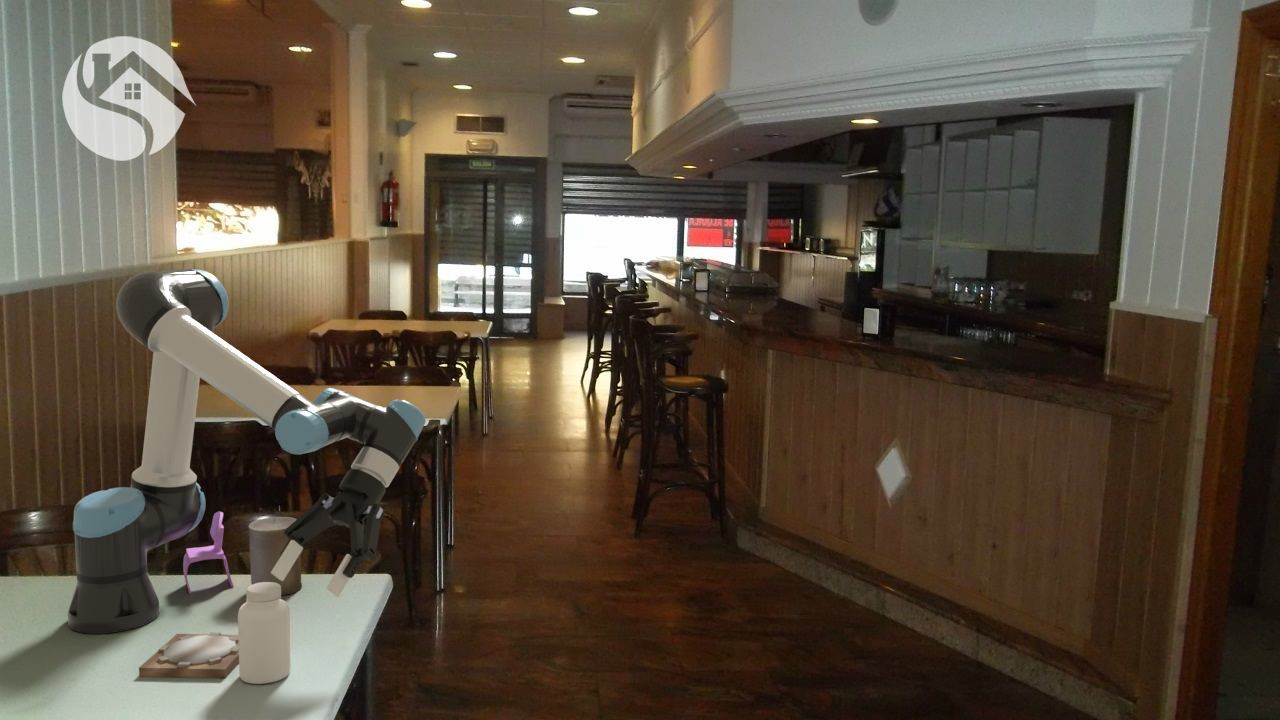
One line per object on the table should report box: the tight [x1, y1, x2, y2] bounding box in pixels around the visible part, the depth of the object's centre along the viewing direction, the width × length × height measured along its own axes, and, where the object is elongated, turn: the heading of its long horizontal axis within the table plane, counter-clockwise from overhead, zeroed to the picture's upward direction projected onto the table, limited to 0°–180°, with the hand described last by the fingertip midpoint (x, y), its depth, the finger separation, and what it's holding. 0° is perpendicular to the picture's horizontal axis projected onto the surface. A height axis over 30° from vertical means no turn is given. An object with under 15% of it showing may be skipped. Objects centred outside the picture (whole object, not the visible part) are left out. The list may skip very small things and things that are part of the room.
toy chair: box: [182, 511, 234, 595], centre depth 210 cm, size 8×9×15 cm
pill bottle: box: [237, 582, 292, 685], centre depth 170 cm, size 8×8×15 cm
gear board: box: [138, 632, 239, 679], centre depth 177 cm, size 14×14×2 cm
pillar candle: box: [248, 516, 303, 597], centre depth 209 cm, size 10×10×15 cm
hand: (303, 584), depth 175 cm, fingers open, 13 cm apart
